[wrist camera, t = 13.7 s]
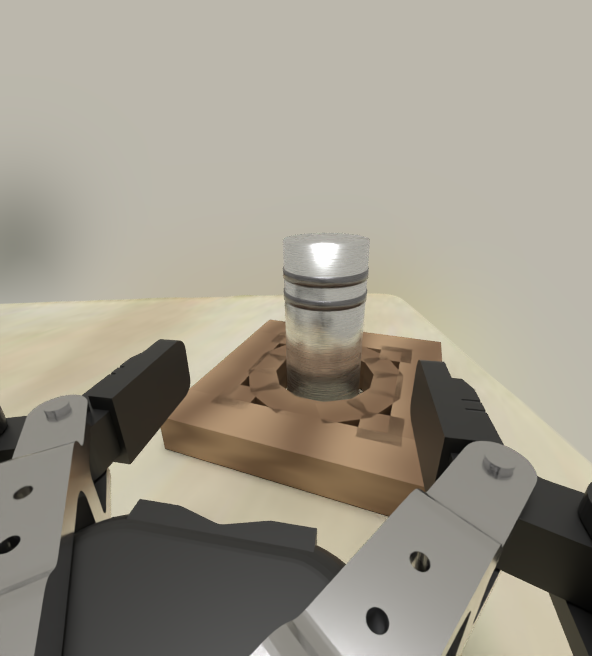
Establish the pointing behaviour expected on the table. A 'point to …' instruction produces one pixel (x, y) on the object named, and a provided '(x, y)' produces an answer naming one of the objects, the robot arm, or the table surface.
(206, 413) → the ring block
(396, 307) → the table surface
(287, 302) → the salt shaker
